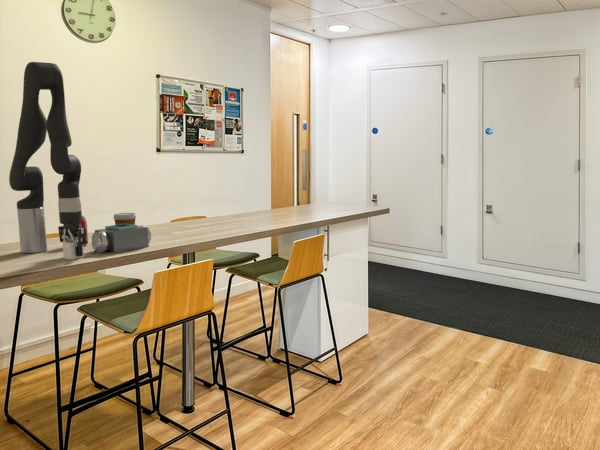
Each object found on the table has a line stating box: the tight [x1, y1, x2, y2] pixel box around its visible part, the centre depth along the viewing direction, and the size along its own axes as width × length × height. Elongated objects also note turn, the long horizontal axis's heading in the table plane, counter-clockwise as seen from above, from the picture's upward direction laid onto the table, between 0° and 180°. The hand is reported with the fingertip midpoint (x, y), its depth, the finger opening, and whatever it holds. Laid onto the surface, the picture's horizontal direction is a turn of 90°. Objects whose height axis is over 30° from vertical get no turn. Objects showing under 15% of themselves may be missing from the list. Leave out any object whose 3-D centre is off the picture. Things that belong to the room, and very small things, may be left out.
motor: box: [91, 224, 152, 254], centre depth 204 cm, size 12×22×9 cm, turn 145°
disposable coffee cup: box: [112, 212, 137, 225], centre depth 222 cm, size 10×10×12 cm
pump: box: [62, 238, 85, 260], centre depth 187 cm, size 5×5×8 cm
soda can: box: [79, 215, 89, 247], centre depth 212 cm, size 7×7×12 cm
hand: (73, 255), depth 188 cm, fingers open, 6 cm apart
